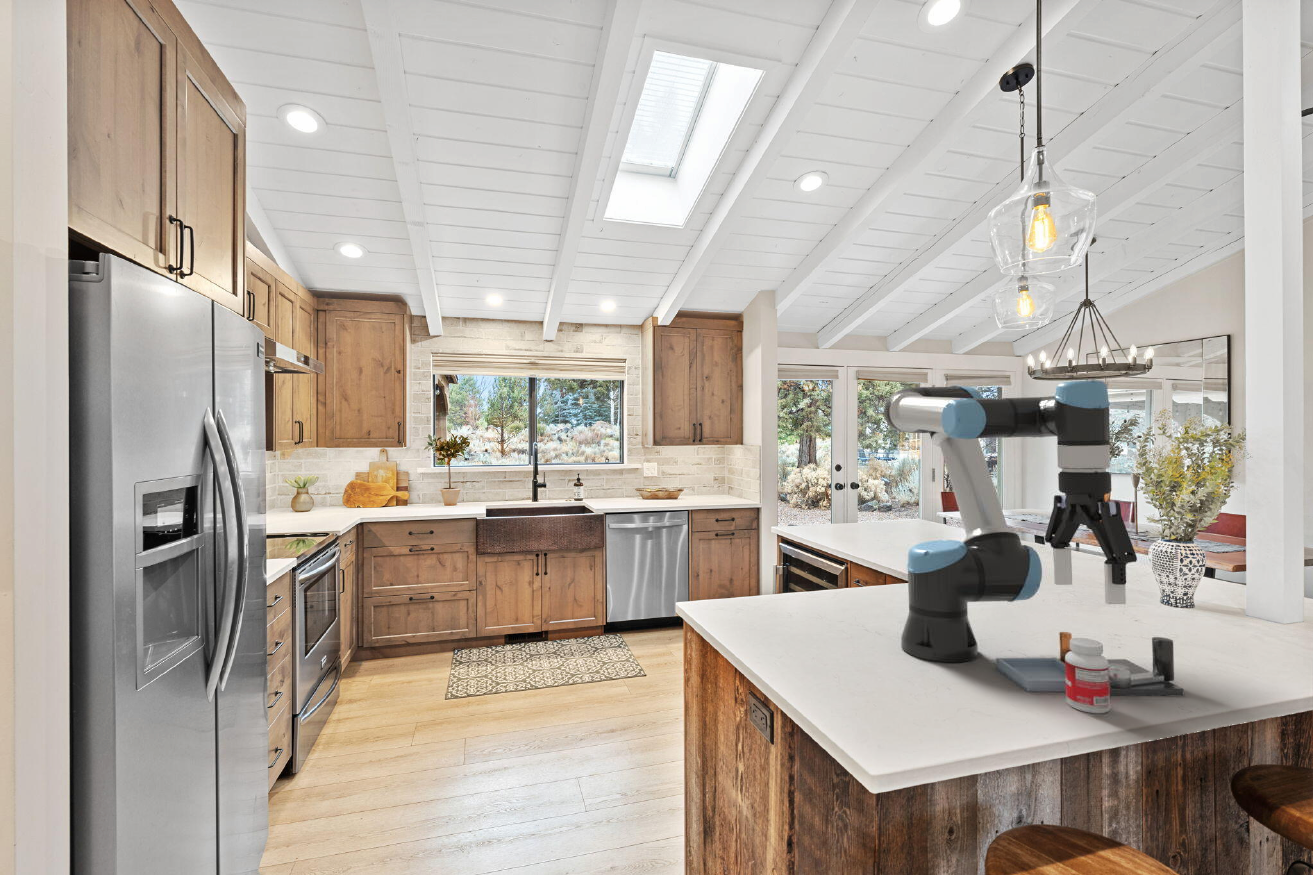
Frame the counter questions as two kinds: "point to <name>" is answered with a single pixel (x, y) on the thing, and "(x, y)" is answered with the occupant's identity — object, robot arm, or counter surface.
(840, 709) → the counter surface
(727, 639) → the counter surface
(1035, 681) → the tray
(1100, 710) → the pill bottle
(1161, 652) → the crank
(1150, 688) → the dial plate
